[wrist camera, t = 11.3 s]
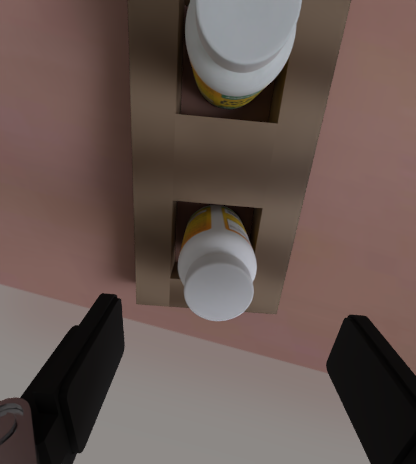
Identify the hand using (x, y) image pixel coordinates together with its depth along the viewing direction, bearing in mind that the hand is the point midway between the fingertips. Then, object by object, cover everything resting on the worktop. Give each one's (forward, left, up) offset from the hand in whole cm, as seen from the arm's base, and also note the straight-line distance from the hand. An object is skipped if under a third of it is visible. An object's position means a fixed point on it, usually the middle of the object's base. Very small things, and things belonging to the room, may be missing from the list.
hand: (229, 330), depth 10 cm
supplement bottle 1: (-12, 0, -13) cm, 18 cm away
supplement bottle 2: (+1, 0, -13) cm, 13 cm away
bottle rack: (-6, 0, -13) cm, 14 cm away
